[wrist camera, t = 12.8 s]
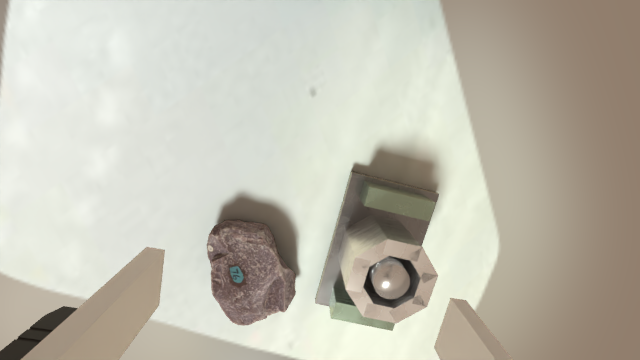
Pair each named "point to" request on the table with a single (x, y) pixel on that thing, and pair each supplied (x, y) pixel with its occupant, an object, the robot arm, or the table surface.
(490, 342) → the robot arm
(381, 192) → the stand
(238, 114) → the table surface
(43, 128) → the table surface
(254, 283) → the rock
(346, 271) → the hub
